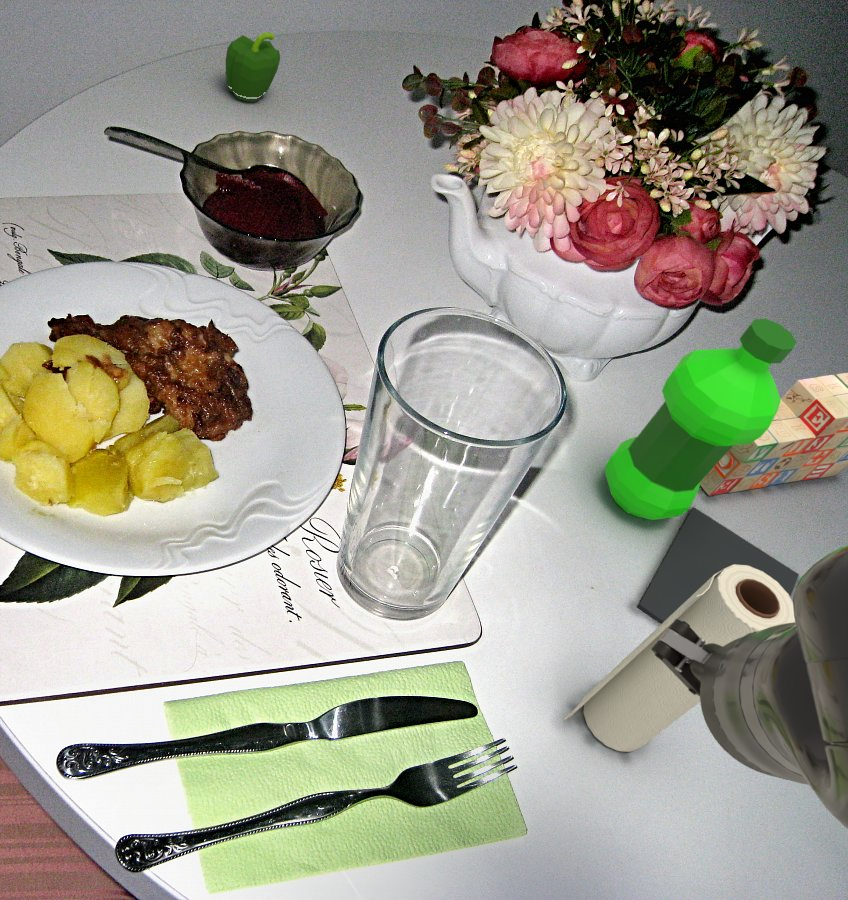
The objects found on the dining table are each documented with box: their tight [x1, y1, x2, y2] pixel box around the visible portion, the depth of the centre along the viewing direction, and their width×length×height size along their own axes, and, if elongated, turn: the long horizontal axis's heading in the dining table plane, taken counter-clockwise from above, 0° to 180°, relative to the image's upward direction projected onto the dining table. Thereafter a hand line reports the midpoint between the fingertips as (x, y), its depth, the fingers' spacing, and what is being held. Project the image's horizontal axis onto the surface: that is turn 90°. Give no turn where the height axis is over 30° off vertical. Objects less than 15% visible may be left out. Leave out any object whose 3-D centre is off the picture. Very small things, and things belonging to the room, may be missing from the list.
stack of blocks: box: [700, 372, 848, 497], centre depth 104 cm, size 21×6×12 cm, turn 108°
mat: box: [637, 506, 800, 625], centre depth 94 cm, size 13×18×1 cm
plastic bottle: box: [604, 318, 797, 521], centre depth 92 cm, size 10×10×25 cm
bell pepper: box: [225, 32, 281, 103], centre depth 140 cm, size 8×8×10 cm
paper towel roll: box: [562, 564, 795, 753], centre depth 73 cm, size 7×6×21 cm
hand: (727, 705), depth 60 cm, fingers closed
